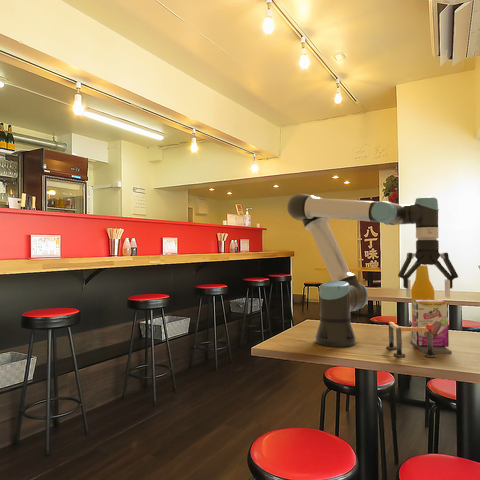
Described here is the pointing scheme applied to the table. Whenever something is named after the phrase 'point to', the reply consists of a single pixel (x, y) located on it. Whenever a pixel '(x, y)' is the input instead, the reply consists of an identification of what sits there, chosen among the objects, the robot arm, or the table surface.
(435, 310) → the candy bar box
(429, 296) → the beer bottle
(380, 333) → the table surface
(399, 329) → the bent wire
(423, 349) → the mat
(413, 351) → the table surface
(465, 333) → the table surface
